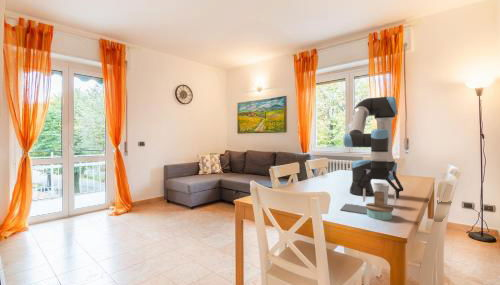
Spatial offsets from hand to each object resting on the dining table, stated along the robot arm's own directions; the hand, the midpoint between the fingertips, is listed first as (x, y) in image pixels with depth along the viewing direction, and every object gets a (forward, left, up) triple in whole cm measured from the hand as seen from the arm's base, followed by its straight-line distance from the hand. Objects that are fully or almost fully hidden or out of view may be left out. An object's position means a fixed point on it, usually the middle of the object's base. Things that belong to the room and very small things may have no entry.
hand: (379, 203), depth 120 cm
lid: (0, 0, -3) cm, 3 cm away
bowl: (0, 0, -7) cm, 7 cm away
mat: (-6, -12, -7) cm, 15 cm away
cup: (-22, -1, -7) cm, 23 cm away
